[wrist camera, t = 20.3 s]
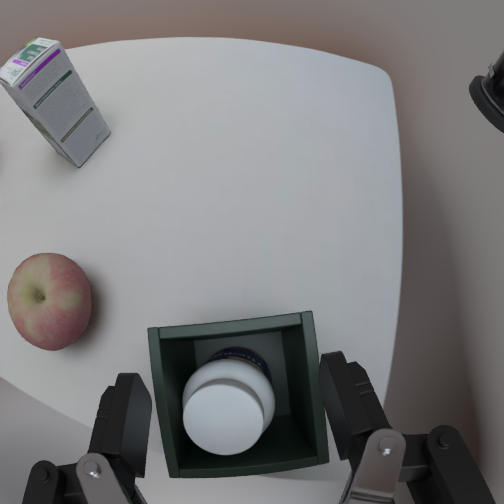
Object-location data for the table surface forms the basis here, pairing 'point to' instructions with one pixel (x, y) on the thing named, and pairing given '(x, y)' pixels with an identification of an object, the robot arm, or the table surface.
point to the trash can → (284, 385)
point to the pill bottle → (229, 401)
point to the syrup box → (54, 99)
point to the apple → (49, 301)
